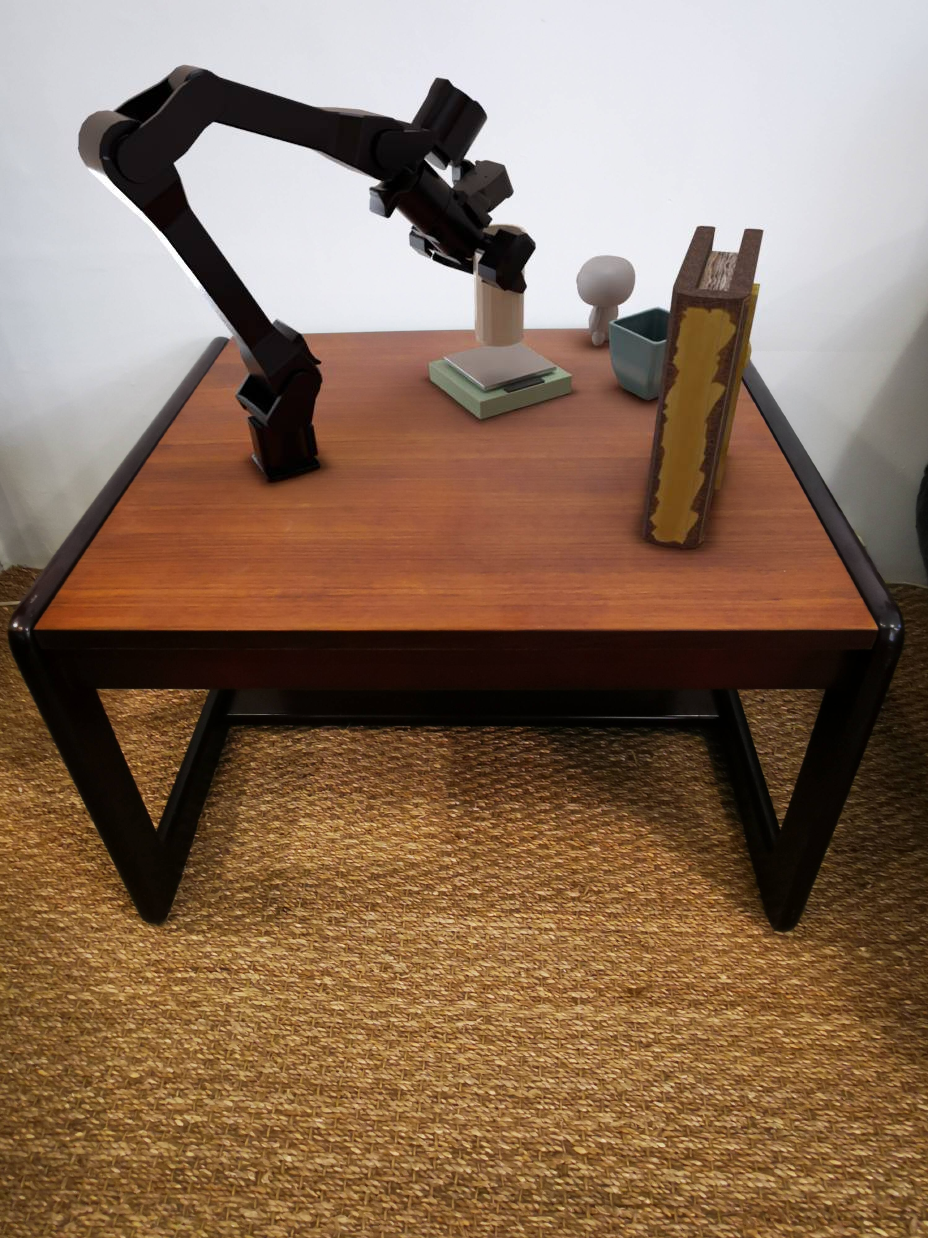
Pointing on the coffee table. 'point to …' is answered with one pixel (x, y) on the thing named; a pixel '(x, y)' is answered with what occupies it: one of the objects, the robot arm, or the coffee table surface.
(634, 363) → the flower pot
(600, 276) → the figurine
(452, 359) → the scale pan
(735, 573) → the coffee table surface
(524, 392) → the scale
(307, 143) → the robot arm
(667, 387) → the book
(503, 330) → the cup
